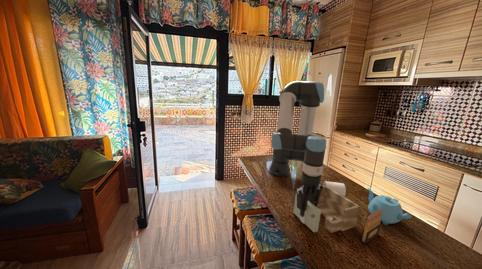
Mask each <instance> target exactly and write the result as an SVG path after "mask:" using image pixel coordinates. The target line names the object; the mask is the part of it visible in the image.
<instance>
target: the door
mask: <svg viewBox="0 0 482 269" xmlns="http://www.w3.org/2000/svg"><path fill="white" fill-rule="evenodd" d="M306 210H307V216H306V223H305V224H304V225H306V227H308V228H309V229H310V230H311V232H313V233H317V232H318V231H319V225H320V221H321V220H320V219H321V210H320V209H318V208H317V207H316V206H314V205H313V204H312V203H311V202H309V201H308V202H307V207H306ZM293 214H294V215H295V216H296V217H297V218H298V219H299V220H300V216H301V215H300V209H298V208H297V193H295V197H294V205H293Z"/></svg>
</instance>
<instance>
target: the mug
mask: <svg viewBox="0 0 482 269" xmlns="http://www.w3.org/2000/svg"><path fill="white" fill-rule="evenodd" d="M322 186H327V187H328V188H330V189H332V190H333V191H335V192H337V193H338V194H340V195H342V196H343V197H345V198H346V191H347V188H346V185H345V183H343V182H334V181H327V180H325V181H323V184H322Z"/></svg>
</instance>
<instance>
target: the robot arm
mask: <svg viewBox="0 0 482 269" xmlns="http://www.w3.org/2000/svg"><path fill="white" fill-rule="evenodd" d="M278 99H279V100H278V101H279V103H280V104H279V112H278V118H277V120H278V121H277V128H276V132H273V133H272V134H271V142H270V143H271V144H270V146H271V148H272V160H271V162H270V166H268V167H269V168H268V172H269V174H271V173H272V174H274V175H273V176H275V175H276V177H280V176H282V178H283V177H285V178H286V177H288V176H290V175H291V168H290V161H297V162H301V163H303V164H302V174H301V182H302V183H301V184H300V187H299V188H298V187H296V188H295V192H296V194H297V208H298V209H300V215H301V216H300V219H299V221H300V222H301V223H302V224H304V225H306V224H305V223H306V216H307V210H306V207H307V202H308V201H309V202H311V203H312V204H313V205H314V206H316V207H317V205H318V201H319V197H320V194H321V191H322V189H323V185H321V180H322V172H323V167H324V166H323V165H324V159H325V153H326V149H327V139H326V138H325V137H323V136H320V135H319V136H318V135H315V134H313V130H314V124H315V118H316V114H317V113H316V112H317V108H319V107H320V105H321V104H322V103H324V101H325V86H324V82H320V81H312V80H311V81H310V80H309V81H308V80H307V81H304V80H303V81H302V80H299V81H298V80H295V81H292V82H290V83H287V84H286V85H285V86H284V87H283V88H282V90H281V91H280V93H279V97H278ZM296 102H299V106H301V107H300V108H301V110H300V116H299V117H300V118H299V124H298V132H297V134H295V133H294V134H293V128H294V112H295V104H296ZM272 174H271V175H272Z"/></svg>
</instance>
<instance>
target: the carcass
mask: <svg viewBox="0 0 482 269" xmlns="http://www.w3.org/2000/svg"><path fill="white" fill-rule="evenodd" d="M322 186H323V185H322ZM317 208H318V209H320V210H321V214H320V216H322V217H324V218H325V220H324V228H325V230H327V231H328V232H329V233H331V234H333V233H335V232H338V231H341V232H344V231H347V230H349V229H352V228H355V227H357V223H358V218H359V215H360V209H361V206H360V205H358V204H357V203H355V202H353V201H352V200H350V199H349V198H347V197H346V196H345V197H343V196H342V195H340V194H338V193H337V192H335V191H333V190H332V189H330V188H328V187H327V186H323V189H322V191H321V194H320V197H319V201H318V205H317Z"/></svg>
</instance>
